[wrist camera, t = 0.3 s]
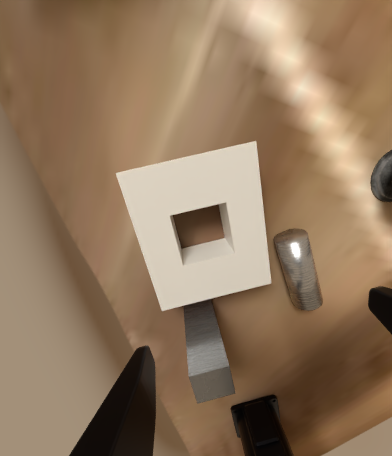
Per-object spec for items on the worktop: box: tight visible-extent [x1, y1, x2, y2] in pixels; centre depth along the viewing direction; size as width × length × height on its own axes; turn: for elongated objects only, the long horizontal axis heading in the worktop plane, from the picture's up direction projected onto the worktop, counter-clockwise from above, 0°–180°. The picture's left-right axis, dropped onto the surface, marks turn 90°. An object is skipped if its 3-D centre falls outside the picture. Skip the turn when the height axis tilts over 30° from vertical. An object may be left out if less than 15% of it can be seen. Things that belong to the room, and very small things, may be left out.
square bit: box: [184, 299, 235, 403], centre depth 19 cm, size 3×3×8 cm
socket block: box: [116, 141, 271, 311], centre depth 18 cm, size 12×10×4 cm
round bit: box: [274, 229, 323, 311], centre depth 21 cm, size 8×3×3 cm, turn 22°
